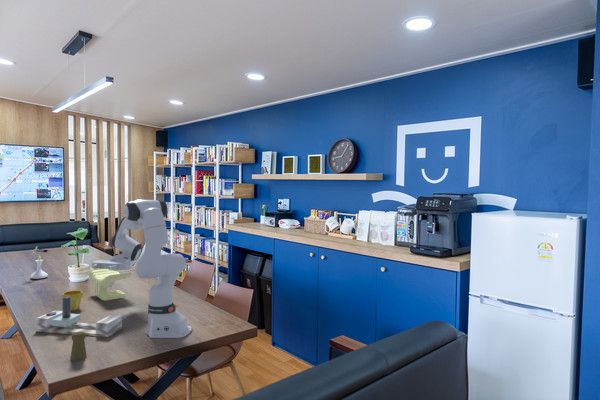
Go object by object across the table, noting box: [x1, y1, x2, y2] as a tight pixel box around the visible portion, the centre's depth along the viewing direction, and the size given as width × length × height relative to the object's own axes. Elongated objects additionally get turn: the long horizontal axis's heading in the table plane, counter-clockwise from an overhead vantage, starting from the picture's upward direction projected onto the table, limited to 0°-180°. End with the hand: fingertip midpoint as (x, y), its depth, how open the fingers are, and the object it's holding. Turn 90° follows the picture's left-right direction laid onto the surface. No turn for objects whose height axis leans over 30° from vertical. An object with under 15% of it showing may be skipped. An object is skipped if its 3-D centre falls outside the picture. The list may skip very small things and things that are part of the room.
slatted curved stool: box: [88, 267, 132, 301], centre depth 251 cm, size 30×16×18 cm, turn 44°
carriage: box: [52, 297, 82, 328], centre depth 195 cm, size 8×10×14 cm
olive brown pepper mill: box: [70, 331, 88, 362], centre depth 164 cm, size 6×6×11 cm
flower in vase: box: [29, 246, 49, 280], centre depth 293 cm, size 13×11×25 cm
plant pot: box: [61, 290, 83, 311], centre depth 225 cm, size 10×10×10 cm
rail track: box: [36, 310, 123, 338], centre depth 194 cm, size 38×12×7 cm, turn 83°
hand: (101, 267), depth 211 cm, fingers open, 8 cm apart
